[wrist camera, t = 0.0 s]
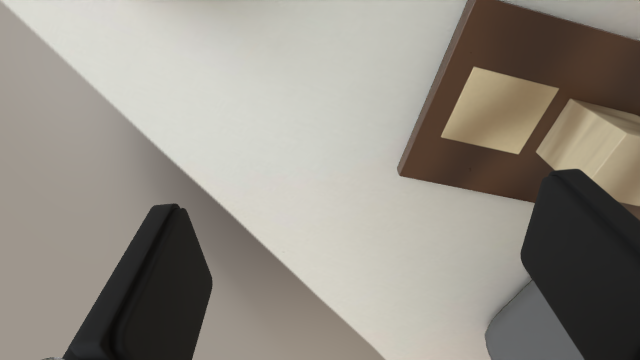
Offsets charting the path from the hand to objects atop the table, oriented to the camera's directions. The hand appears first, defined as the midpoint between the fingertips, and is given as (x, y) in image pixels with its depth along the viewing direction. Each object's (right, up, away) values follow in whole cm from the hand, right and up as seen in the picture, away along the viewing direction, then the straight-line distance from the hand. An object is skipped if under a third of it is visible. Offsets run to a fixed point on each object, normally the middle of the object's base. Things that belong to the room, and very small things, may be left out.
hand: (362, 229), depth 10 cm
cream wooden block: (+17, +4, +15) cm, 23 cm away
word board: (+17, +5, +15) cm, 23 cm away
